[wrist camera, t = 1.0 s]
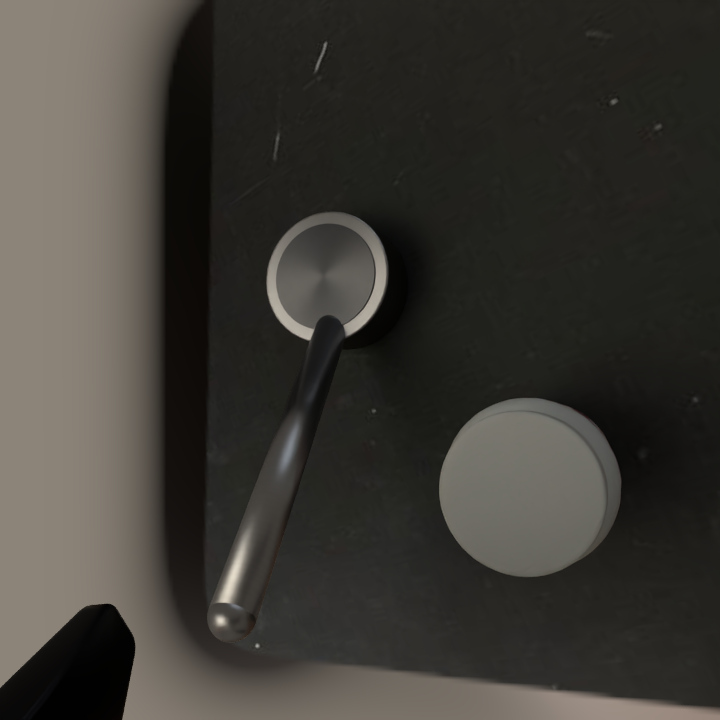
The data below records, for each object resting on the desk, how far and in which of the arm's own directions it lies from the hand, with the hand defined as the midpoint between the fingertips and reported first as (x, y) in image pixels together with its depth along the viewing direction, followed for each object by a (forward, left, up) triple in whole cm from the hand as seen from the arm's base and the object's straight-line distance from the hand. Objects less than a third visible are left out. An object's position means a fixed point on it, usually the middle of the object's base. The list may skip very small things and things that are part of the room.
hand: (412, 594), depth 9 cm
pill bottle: (0, -1, -16) cm, 16 cm away
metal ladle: (+4, +6, -16) cm, 17 cm away
